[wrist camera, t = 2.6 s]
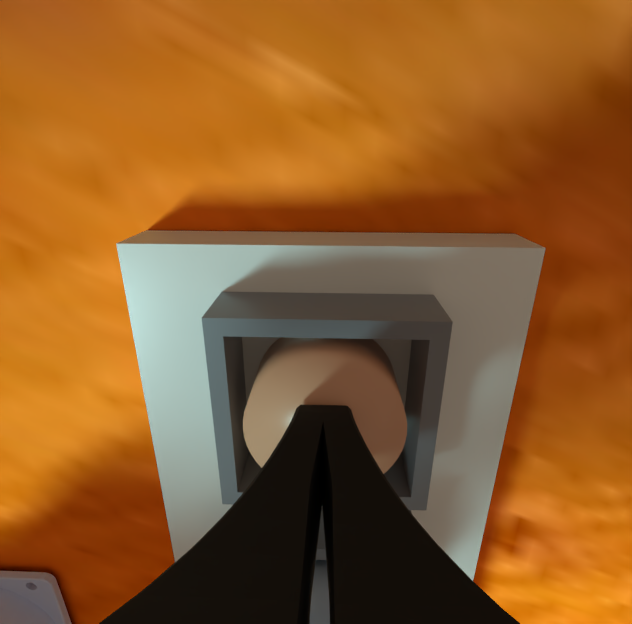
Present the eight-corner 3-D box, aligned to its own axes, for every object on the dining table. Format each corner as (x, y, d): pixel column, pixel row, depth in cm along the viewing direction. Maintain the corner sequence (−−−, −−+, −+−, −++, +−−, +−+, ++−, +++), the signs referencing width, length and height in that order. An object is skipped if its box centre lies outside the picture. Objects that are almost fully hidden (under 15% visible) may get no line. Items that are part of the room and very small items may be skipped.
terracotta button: (260, 440, 14) (247, 491, 12) (252, 321, 12) (237, 356, 10) (390, 443, 14) (400, 495, 12) (400, 324, 12) (414, 360, 10)
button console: (215, 676, 23) (192, 779, 19) (146, 230, 13) (75, 262, 10) (430, 686, 22) (450, 793, 19) (515, 233, 13) (588, 267, 9)
